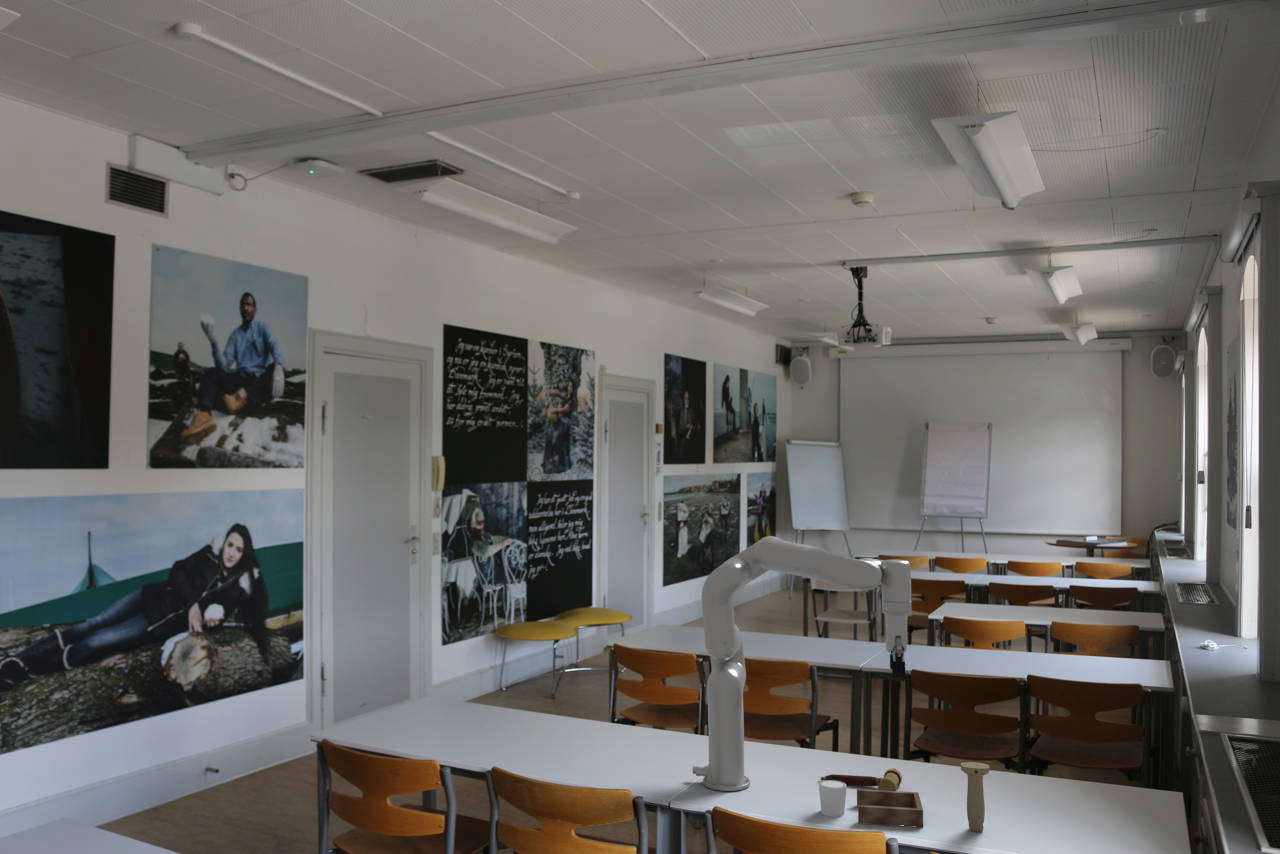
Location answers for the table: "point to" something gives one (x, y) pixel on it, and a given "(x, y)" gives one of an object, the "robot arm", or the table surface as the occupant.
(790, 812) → the table surface
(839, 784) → the white short tapered cylinder
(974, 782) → the handle
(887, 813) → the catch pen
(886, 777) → the gavel
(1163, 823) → the table surface
